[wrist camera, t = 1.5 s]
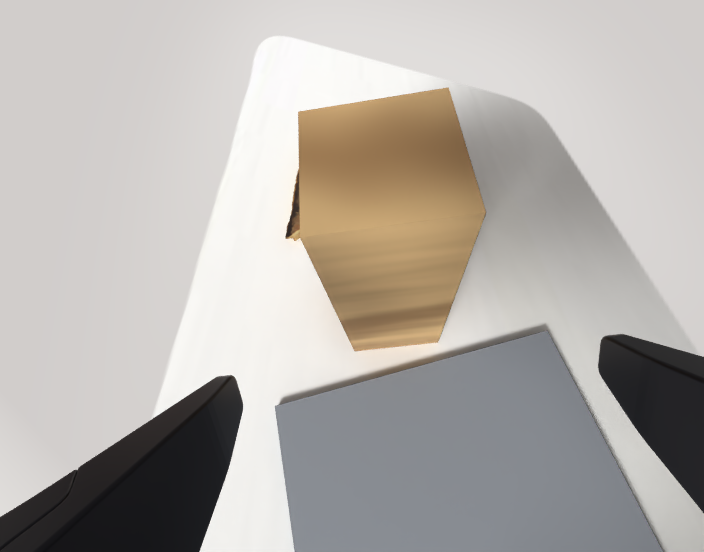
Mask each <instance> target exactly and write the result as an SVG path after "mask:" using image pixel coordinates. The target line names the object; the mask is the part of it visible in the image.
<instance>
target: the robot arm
mask: <svg viewBox="0 0 704 552" xmlns="http://www.w3.org/2000/svg"><path fill="white" fill-rule="evenodd" d="M598 368H599V373H600V375H601V377H602V379H603V380H604V382H605V383H606V385H607V386H608V388H609V389H610V391H611V392H612V394H613V395H614V397H615V398H616V400H617V401H618V403H619V404H620V406H621V407H622V409H623V410H624V412H625V413H626V415H627V416H628V418H629V419H630V421H631V422H632V424H633V425H634V426H635V428H636V429H637V431H638V432H639V433H640V435H641V436H642V437H643V439H644V440H645V441H646V443H647V444H648V445H649V446H650V448H651V449H652V450H653V451H654V452H655V454H656V455H657V456H658V457H659V459H660V460H661V461H662V462H663V464H664V465H665V466H666V467H667V468H668V470H669V471H670V472H671V473H672V475H673V476H674V477H675V478H676V480H677V481H678V482H679V483H680V484H681V486H682V487H683V488H684V489H685V491H686V492H687V493H688V494H689V495H690V497H691V498H692V499H693V500H694V502H695V503H696V504H697V505H698V507H699V508H700V509H701V510H702V511H703V513H704V357H702V356H698V355H695V354H691V353H688V352H684V351H681V350H677V349H674V348H670V347H667V346H663V345H660V344H656V343H653V342H649V341H646V340H642V339H639V338H635V337H632V336H628V335H624V334H617V335H608V336H605V337H603V338H602V340H601V344H600V354H599V363H598ZM242 411H243V402H242V398H241V394H240V391H239V388H238V384H237V381H236V379H235V377H234V376H232V375H227V376H219V377H216V378H214V379H213V380H211V381H210V382H208V383H207V384H205V385H204V386H202V387H201V388H199V389H198V390H196V391H194V392H193V393H191V394H190V395H188V396H187V397H185V398H184V399H182V400H181V401H179V402H178V403H176V404H175V405H173V406H172V407H170V408H169V409H167V410H165V411H164V412H162V413H161V414H159V415H158V416H156V417H155V418H153V419H152V420H150V421H149V422H147V423H146V424H144V425H143V426H141V427H140V428H138V429H136V430H135V431H133V432H132V433H130V434H129V435H127V436H126V437H124V438H123V439H121V440H120V441H118V442H117V443H115V444H114V445H112V446H111V447H109V448H108V449H106V450H105V451H103V452H102V453H100V454H98V455H97V456H95V457H94V458H92V459H91V460H89V461H88V462H86V463H85V464H83V465H82V466H80V467H79V468H78V470H74V471H72V472H71V473H69V474H68V475H66V476H65V477H63V478H62V479H60V480H59V481H57V482H55V483H54V484H52V485H51V486H49V487H48V488H46V489H44V490H43V491H42V492H40V493H38V494H37V495H35V496H34V497H32V498H31V499H29V500H27V501H26V502H24V503H23V504H21V505H19V506H18V507H16V508H14V509H13V510H11V511H9V512H8V513H6V514H4V515H3V516H1V517H0V552H199V551H200V548H201V546H202V543H203V540H204V537H205V534H206V531H207V529H208V526H209V523H210V520H211V517H212V514H213V512H214V509H215V506H216V503H217V500H218V498H219V495H220V492H221V489H222V486H223V483H224V481H225V478H226V475H227V472H228V469H229V465H230V461H231V457H232V453H233V449H234V445H235V441H236V437H237V432H238V428H239V424H240V420H241V416H242Z"/></svg>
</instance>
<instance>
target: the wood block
mask: <svg viewBox="0 0 704 552" xmlns="http://www.w3.org/2000/svg"><path fill="white" fill-rule="evenodd" d="M298 124H299V200H300V238H301V241H302V243H303V245H304V247H305V249H306V251H307V253H308V255H309V257H310V259H311V261H312V263H313V266H314V268H315V270H316V272H317V274H318V276H319V278H320V280H321V282H322V284H323V286H324V288H325V291H326V293H327V295H328V297H329V299H330V301H331V303H332V305H333V307H334V309H335V311H336V313H337V316H338V318H339V320H340V322H341V324H342V326H343V328H344V330H345V332H346V334H347V336H348V338H349V341H350V343H351V345H352V347H353V349H354V351H361V350H371V349H380V348H389V347H399V346H408V345H417V344H427V343H436V342H438V341H439V338H440V336H441V333H442V330H443V328H444V325H445V322H446V319H447V317H448V314H449V311H450V309H451V306H452V303H453V301H454V298H455V295H456V292H457V290H458V287H459V284H460V282H461V279H462V276H463V274H464V271H465V268H466V265H467V263H468V260H469V257H470V255H471V252H472V249H473V247H474V244H475V241H476V239H477V236H478V233H479V230H480V228H481V225H482V222H483V220H484V217H485V214H486V211H485V207H484V204H483V201H482V197H481V194H480V191H479V187H478V184H477V181H476V177H475V174H474V171H473V167H472V164H471V161H470V157H469V154H468V151H467V147H466V144H465V141H464V137H463V134H462V131H461V128H460V124H459V121H458V118H457V114H456V111H455V108H454V104H453V101H452V98H451V94H450V91H449V88H443V89H437V90H430V91H424V92H418V93H412V94H406V95H399V96H393V97H387V98H381V99H375V100H368V101H362V102H356V103H350V104H344V105H337V106H331V107H325V108H319V109H313V110H306V111H300V112H298Z"/></svg>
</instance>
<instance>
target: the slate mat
mask: <svg viewBox="0 0 704 552" xmlns="http://www.w3.org/2000/svg"><path fill="white" fill-rule="evenodd" d="M275 411H276V418H277V426H278V433H279V440H280V448H281V455H282V462H283V469H284V477H285V484H286V491H287V499H288V506H289V513H290V521H291V528H292V535H293V543H294V550H295V552H663V550H662V548H661V547H660V545H659V543H658V541H657V539H656V537H655V535H654V533H653V531H652V529H651V527H650V526H649V524H648V522H647V520H646V518H645V516H644V514H643V512H642V510H641V508H640V506H639V505H638V503H637V501H636V499H635V497H634V495H633V493H632V491H631V489H630V487H629V486H628V484H627V482H626V480H625V478H624V476H623V474H622V472H621V470H620V468H619V466H618V465H617V463H616V461H615V459H614V457H613V455H612V453H611V451H610V449H609V447H608V445H607V444H606V442H605V440H604V438H603V436H602V434H601V432H600V430H599V428H598V426H597V424H596V423H595V421H594V419H593V417H592V415H591V413H590V411H589V409H588V407H587V405H586V403H585V402H584V400H583V398H582V396H581V394H580V392H579V390H578V388H577V386H576V384H575V382H574V381H573V379H572V377H571V375H570V373H569V371H568V369H567V367H566V365H565V363H564V361H563V360H562V358H561V356H560V354H559V352H558V350H557V348H556V346H555V344H554V342H553V340H552V339H551V337H550V335H549V333H548V331H543V332H540V333H536V334H532V335H529V336H525V337H522V338H518V339H515V340H511V341H507V342H504V343H500V344H497V345H493V346H489V347H486V348H482V349H479V350H475V351H471V352H468V353H464V354H461V355H457V356H453V357H450V358H446V359H443V360H439V361H435V362H432V363H428V364H425V365H421V366H417V367H414V368H410V369H407V370H403V371H399V372H396V373H392V374H389V375H385V376H381V377H378V378H374V379H371V380H367V381H363V382H360V383H356V384H353V385H349V386H345V387H342V388H338V389H335V390H331V391H327V392H324V393H320V394H317V395H313V396H309V397H306V398H302V399H299V400H295V401H291V402H288V403H284V404H281V405H277V406H275Z"/></svg>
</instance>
